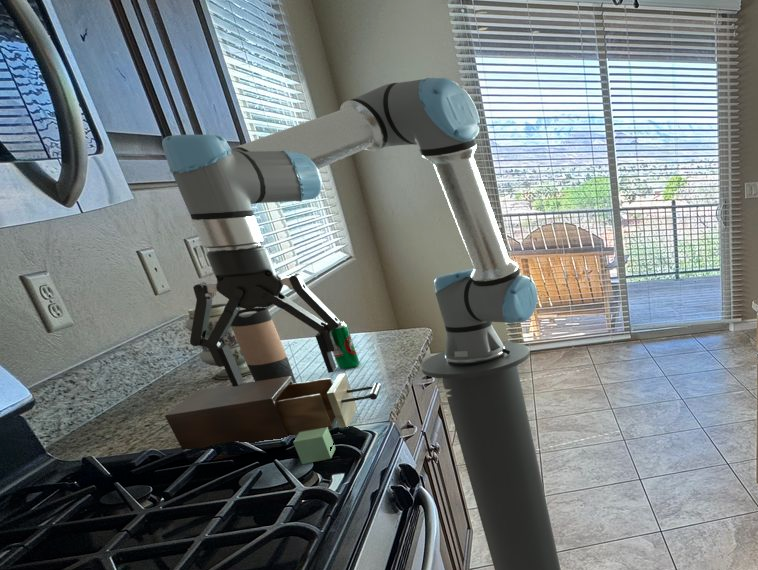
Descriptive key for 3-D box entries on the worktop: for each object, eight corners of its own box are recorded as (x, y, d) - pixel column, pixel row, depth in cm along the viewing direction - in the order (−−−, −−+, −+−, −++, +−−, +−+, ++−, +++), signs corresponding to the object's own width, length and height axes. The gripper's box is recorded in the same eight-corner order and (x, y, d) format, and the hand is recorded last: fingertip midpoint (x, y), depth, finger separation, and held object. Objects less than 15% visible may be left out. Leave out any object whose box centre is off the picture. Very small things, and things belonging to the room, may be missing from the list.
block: (335, 448, 105) (327, 427, 103) (331, 458, 102) (322, 436, 100) (308, 454, 104) (299, 432, 102) (302, 464, 100) (292, 441, 98)
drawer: (389, 402, 123) (378, 368, 120) (382, 423, 113) (370, 386, 109) (277, 421, 116) (262, 385, 113) (259, 445, 106) (241, 407, 103)
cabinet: (308, 419, 119) (290, 376, 115) (291, 445, 107) (271, 398, 103) (217, 435, 114) (195, 390, 110) (189, 464, 102) (164, 415, 98)
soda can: (335, 368, 151) (319, 324, 146) (355, 362, 155) (340, 319, 150) (344, 371, 149) (328, 326, 144) (363, 365, 152) (349, 321, 147)
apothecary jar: (230, 367, 157) (202, 303, 149) (275, 364, 158) (249, 299, 150) (198, 382, 146) (165, 313, 138) (246, 378, 147) (217, 310, 139)
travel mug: (282, 388, 139) (249, 307, 130) (308, 388, 137) (276, 307, 128) (253, 399, 132) (216, 315, 123) (280, 401, 130) (244, 315, 122)
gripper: (333, 238, 94) (371, 359, 103) (145, 252, 86) (205, 383, 95) (323, 242, 88) (366, 370, 97) (120, 258, 80) (187, 397, 89)
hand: (286, 377), depth 96 cm, fingers open, 13 cm apart
